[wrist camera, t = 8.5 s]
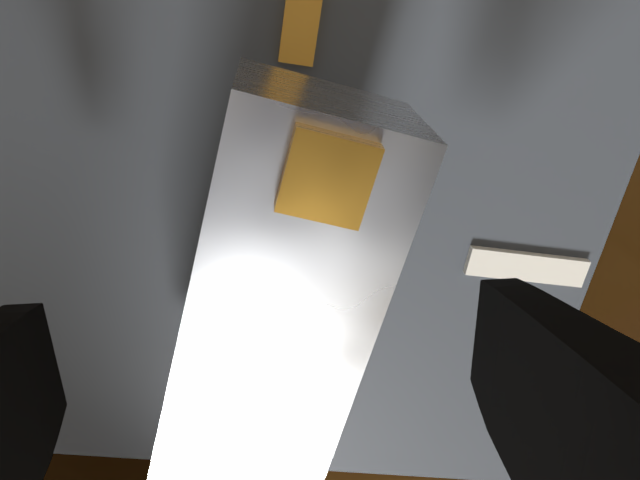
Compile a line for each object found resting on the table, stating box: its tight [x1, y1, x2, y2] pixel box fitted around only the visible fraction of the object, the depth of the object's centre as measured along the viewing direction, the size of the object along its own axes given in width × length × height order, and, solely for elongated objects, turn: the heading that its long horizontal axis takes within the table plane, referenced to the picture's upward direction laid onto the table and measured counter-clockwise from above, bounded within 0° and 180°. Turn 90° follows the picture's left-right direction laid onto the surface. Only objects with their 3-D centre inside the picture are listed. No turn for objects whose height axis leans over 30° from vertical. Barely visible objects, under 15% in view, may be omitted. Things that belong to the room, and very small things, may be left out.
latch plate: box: [0, 0, 640, 480], centre depth 14 cm, size 16×14×2 cm
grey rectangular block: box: [147, 57, 448, 480], centre depth 11 cm, size 8×3×5 cm, turn 164°
